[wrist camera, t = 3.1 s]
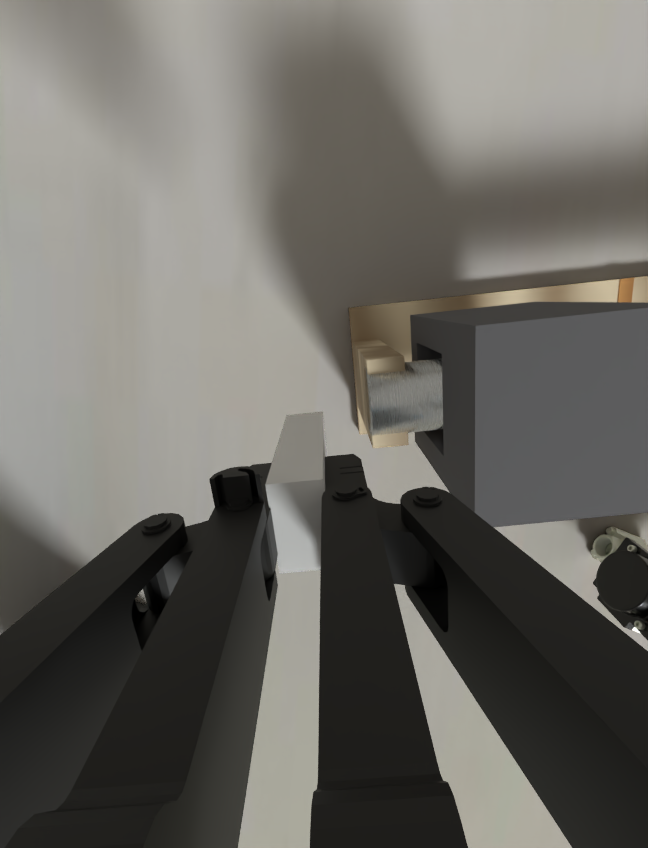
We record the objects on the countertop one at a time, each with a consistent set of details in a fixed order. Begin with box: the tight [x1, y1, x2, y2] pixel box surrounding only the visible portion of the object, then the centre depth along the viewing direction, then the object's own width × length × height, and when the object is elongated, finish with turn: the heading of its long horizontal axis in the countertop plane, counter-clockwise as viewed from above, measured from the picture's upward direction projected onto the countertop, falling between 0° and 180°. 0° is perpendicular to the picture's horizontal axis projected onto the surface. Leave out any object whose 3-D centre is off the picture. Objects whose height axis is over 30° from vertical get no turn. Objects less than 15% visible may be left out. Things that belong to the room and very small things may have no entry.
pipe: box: [364, 358, 443, 436], centre depth 23 cm, size 29×4×4 cm, turn 96°
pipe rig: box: [349, 276, 648, 448], centre depth 27 cm, size 29×10×11 cm, turn 96°
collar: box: [410, 302, 648, 527], centre depth 22 cm, size 8×9×12 cm
